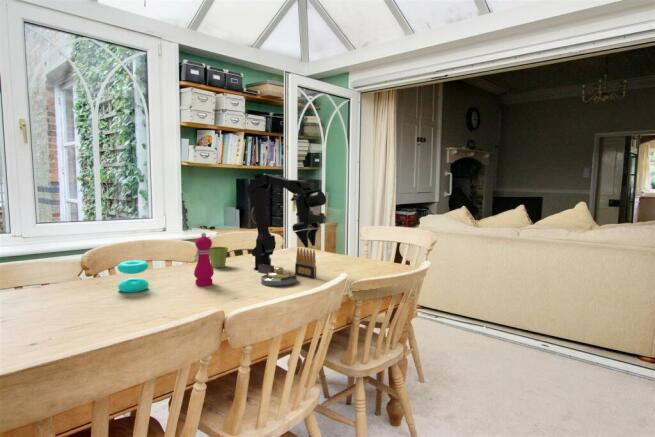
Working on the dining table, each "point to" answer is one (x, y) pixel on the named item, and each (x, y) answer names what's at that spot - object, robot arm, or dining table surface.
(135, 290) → the donuts
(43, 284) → the dining table surface
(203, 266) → the pepper mill
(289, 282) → the base
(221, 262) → the plant pot
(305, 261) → the ammunition clip
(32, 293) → the dining table surface
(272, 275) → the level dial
